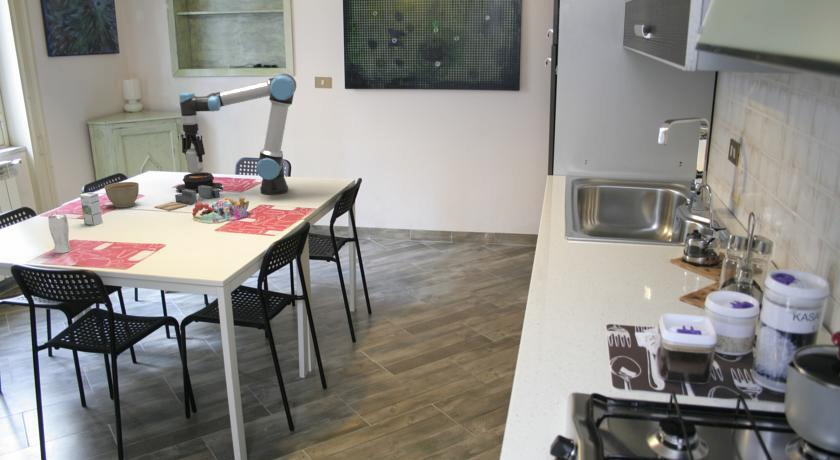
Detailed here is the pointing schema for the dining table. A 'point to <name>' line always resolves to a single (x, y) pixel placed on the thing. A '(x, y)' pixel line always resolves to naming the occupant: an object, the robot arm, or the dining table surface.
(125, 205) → the planter bowl
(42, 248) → the dining table surface
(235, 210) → the candy landscape model
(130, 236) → the dining table surface
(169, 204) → the mat
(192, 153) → the can
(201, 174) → the casserole
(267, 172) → the robot arm
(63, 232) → the beer glass
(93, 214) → the syrup box
